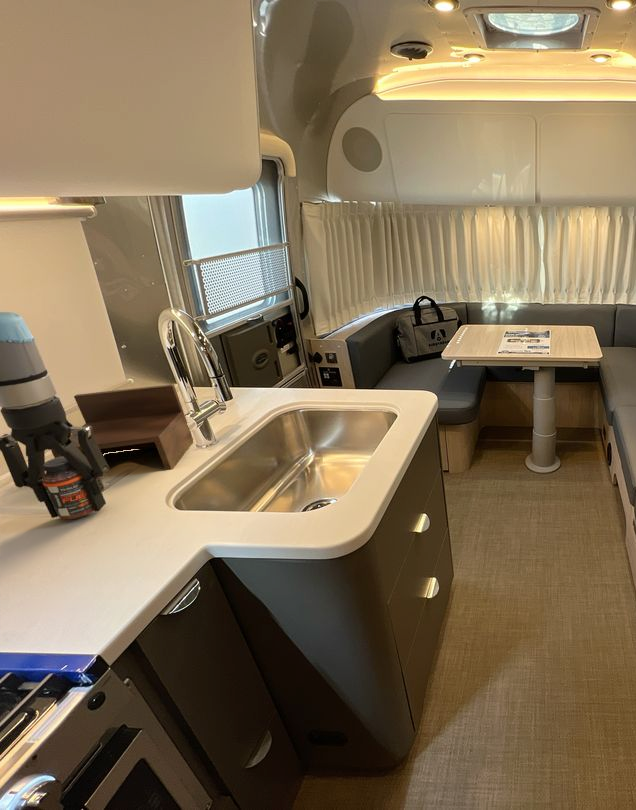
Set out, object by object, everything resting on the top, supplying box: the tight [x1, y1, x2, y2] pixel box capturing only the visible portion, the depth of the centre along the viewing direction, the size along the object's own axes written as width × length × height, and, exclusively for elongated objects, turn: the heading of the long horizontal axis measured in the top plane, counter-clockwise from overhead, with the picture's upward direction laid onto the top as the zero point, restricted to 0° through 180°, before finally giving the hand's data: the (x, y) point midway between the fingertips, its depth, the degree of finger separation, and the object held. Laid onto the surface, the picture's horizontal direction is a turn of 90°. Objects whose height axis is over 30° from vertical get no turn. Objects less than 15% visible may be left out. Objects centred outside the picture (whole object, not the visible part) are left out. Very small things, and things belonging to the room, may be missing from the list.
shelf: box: [50, 384, 194, 471], centre depth 113 cm, size 15×20×16 cm
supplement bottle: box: [42, 457, 94, 520], centre depth 92 cm, size 6×6×11 cm
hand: (79, 510), depth 94 cm, fingers closed on supplement bottle, 6 cm apart
